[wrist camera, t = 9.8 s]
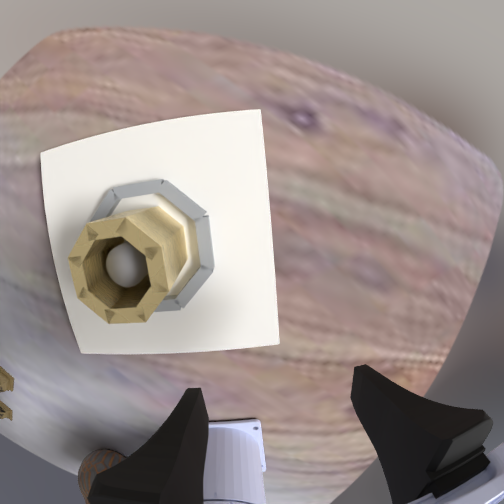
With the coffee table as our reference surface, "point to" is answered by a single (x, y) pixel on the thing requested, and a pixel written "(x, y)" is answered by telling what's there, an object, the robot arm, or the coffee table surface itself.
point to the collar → (142, 238)
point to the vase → (96, 468)
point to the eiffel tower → (4, 382)
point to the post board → (187, 214)
